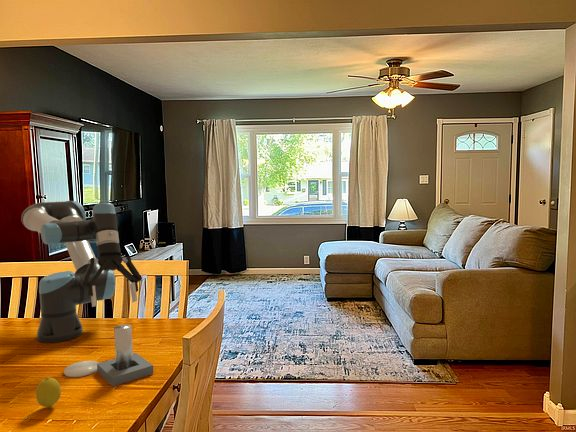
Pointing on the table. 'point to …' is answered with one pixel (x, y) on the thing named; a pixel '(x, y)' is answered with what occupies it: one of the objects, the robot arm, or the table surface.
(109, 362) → the pocket board
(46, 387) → the lemon
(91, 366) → the coaster
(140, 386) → the table surface
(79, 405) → the table surface
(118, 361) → the metal part
